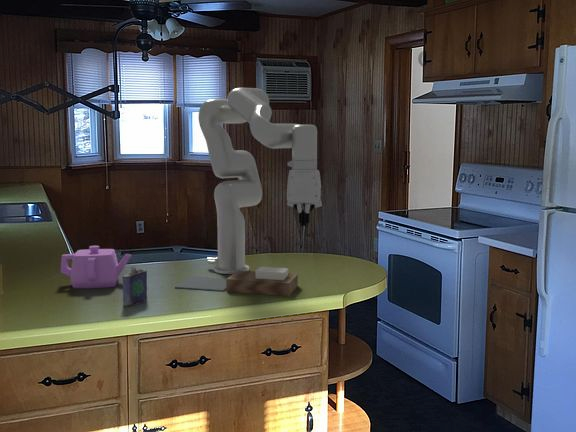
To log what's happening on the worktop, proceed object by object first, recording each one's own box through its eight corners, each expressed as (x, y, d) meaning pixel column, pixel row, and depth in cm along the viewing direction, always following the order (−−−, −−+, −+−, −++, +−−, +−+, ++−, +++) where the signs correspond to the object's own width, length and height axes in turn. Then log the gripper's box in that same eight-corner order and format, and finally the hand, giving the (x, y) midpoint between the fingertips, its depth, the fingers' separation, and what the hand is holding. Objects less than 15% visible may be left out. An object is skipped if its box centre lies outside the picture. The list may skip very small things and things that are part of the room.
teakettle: (57, 284, 212) (55, 247, 210) (99, 274, 226) (98, 239, 224) (91, 293, 202) (90, 253, 200) (133, 282, 216) (132, 245, 214)
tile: (255, 278, 205) (255, 270, 205) (260, 273, 211) (260, 266, 211) (283, 280, 203) (283, 272, 203) (288, 275, 209) (288, 268, 209)
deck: (226, 291, 205) (226, 279, 204) (237, 282, 216) (237, 270, 216) (289, 295, 201) (289, 283, 200) (297, 286, 212) (297, 273, 211)
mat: (175, 288, 209) (175, 286, 209) (191, 277, 222) (191, 276, 222) (223, 291, 205) (223, 290, 205) (236, 280, 219) (236, 279, 219)
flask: (127, 307, 188) (126, 270, 186) (120, 306, 189) (118, 269, 188) (149, 299, 196) (148, 264, 194) (141, 298, 197) (140, 263, 196)
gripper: (277, 166, 198) (277, 226, 200) (326, 166, 194) (326, 228, 197) (283, 164, 205) (283, 222, 208) (330, 165, 202) (330, 224, 204)
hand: (304, 225), depth 202 cm, fingers closed
